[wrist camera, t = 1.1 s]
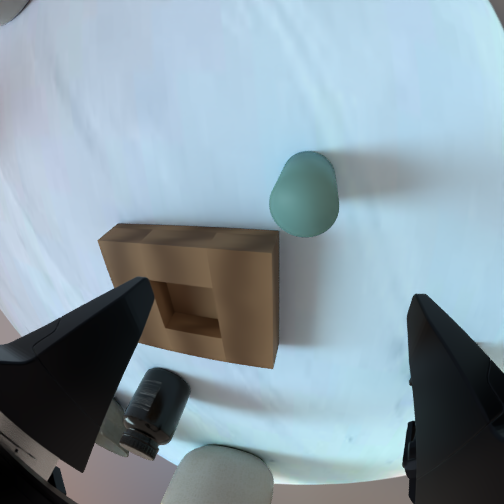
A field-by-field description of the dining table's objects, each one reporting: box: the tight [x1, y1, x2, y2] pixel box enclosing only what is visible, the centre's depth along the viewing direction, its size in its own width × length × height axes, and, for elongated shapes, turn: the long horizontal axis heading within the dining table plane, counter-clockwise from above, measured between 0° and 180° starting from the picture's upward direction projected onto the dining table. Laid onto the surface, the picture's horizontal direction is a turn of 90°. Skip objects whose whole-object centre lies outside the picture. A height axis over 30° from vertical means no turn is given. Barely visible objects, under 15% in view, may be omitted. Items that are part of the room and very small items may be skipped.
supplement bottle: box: [119, 368, 191, 461], centre depth 31 cm, size 7×7×12 cm
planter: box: [161, 445, 274, 504], centre depth 42 cm, size 21×21×19 cm
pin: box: [269, 151, 339, 237], centre depth 16 cm, size 3×3×5 cm
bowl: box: [95, 399, 129, 457], centre depth 45 cm, size 19×19×10 cm
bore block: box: [98, 224, 279, 369], centre depth 24 cm, size 14×12×3 cm
